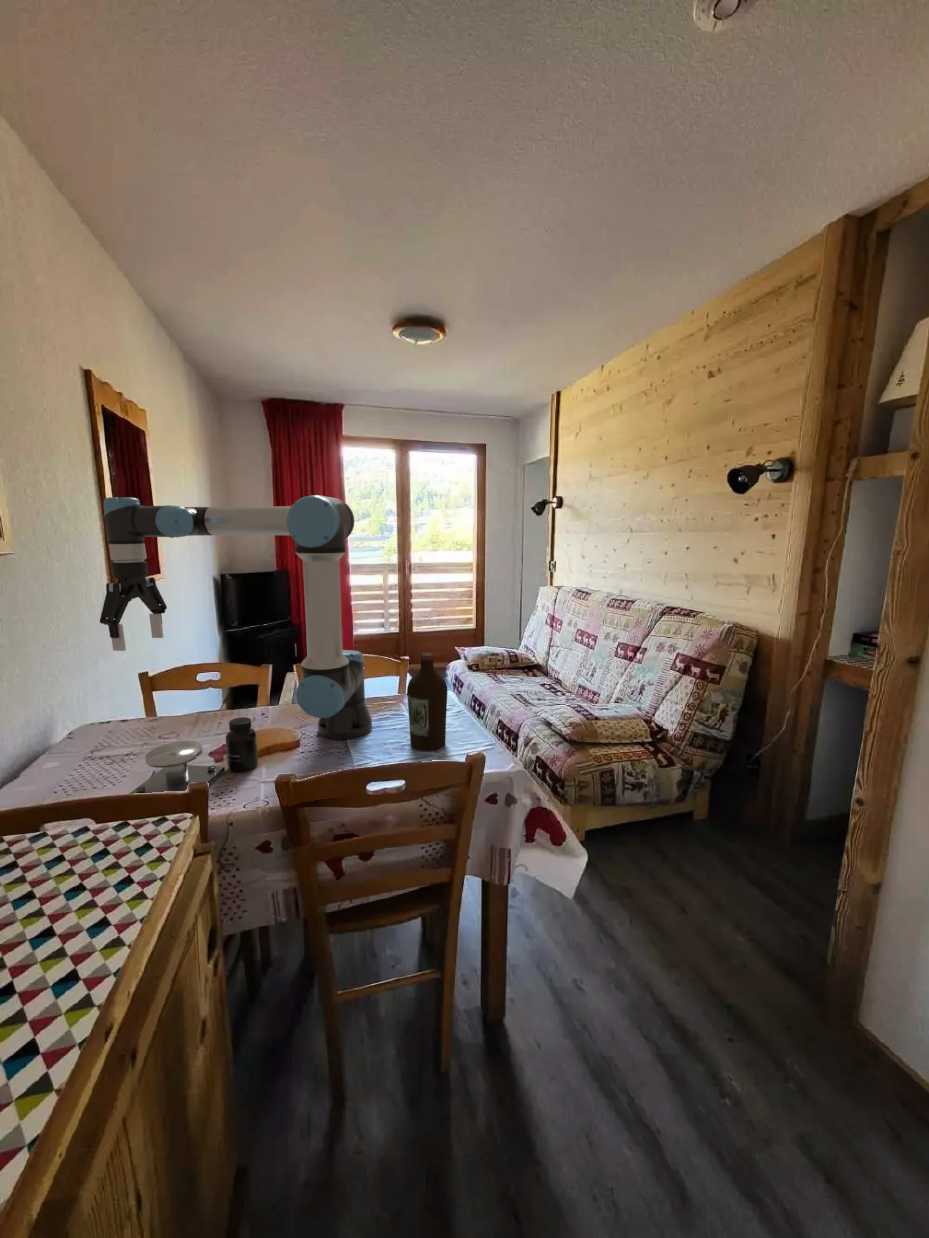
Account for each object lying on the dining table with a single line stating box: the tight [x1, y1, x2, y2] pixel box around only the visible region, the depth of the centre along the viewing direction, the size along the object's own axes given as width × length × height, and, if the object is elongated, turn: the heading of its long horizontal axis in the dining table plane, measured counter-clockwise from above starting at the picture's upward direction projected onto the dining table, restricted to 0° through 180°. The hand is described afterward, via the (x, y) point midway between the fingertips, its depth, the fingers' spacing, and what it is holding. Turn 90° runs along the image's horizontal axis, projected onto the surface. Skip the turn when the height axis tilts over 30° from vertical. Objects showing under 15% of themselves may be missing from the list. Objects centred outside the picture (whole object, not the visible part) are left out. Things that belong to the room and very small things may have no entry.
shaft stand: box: [128, 740, 226, 794], centre depth 113 cm, size 14×14×8 cm
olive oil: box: [406, 652, 448, 752], centre depth 133 cm, size 11×11×25 cm
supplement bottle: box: [225, 716, 259, 774], centre depth 121 cm, size 7×7×12 cm
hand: (139, 643), depth 129 cm, fingers open, 13 cm apart
